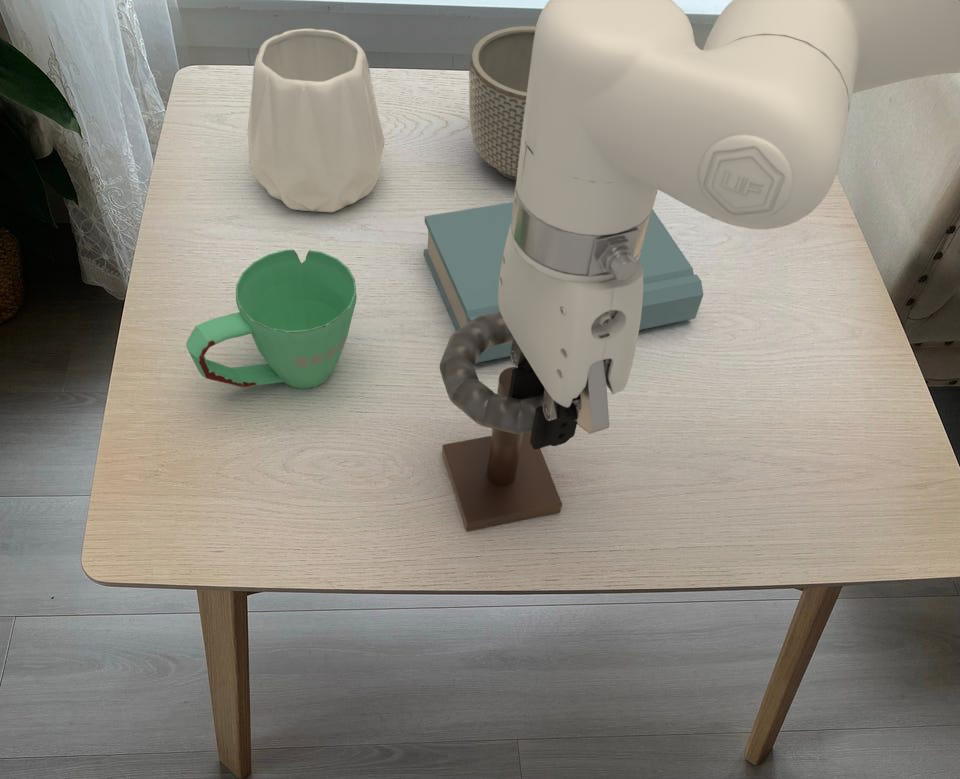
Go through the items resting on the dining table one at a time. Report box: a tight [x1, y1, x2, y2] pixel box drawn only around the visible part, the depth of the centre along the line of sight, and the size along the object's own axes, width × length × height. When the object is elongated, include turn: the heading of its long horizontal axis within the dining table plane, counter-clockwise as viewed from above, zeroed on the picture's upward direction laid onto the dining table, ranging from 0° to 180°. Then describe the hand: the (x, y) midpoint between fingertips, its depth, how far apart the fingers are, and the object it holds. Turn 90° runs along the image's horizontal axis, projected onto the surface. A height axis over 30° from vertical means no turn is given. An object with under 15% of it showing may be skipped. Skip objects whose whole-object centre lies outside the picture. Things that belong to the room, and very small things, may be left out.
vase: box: [247, 28, 386, 213], centre depth 97 cm, size 14×14×15 cm
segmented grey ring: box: [439, 312, 544, 435], centre depth 68 cm, size 11×11×2 cm
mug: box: [185, 249, 358, 390], centre depth 81 cm, size 15×10×10 cm
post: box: [441, 366, 563, 532], centre depth 74 cm, size 8×8×13 cm
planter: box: [468, 25, 536, 182], centre depth 102 cm, size 14×14×13 cm
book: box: [423, 201, 704, 364], centre depth 93 cm, size 23×16×5 cm
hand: (540, 420), depth 66 cm, fingers closed on segmented grey ring, 2 cm apart
